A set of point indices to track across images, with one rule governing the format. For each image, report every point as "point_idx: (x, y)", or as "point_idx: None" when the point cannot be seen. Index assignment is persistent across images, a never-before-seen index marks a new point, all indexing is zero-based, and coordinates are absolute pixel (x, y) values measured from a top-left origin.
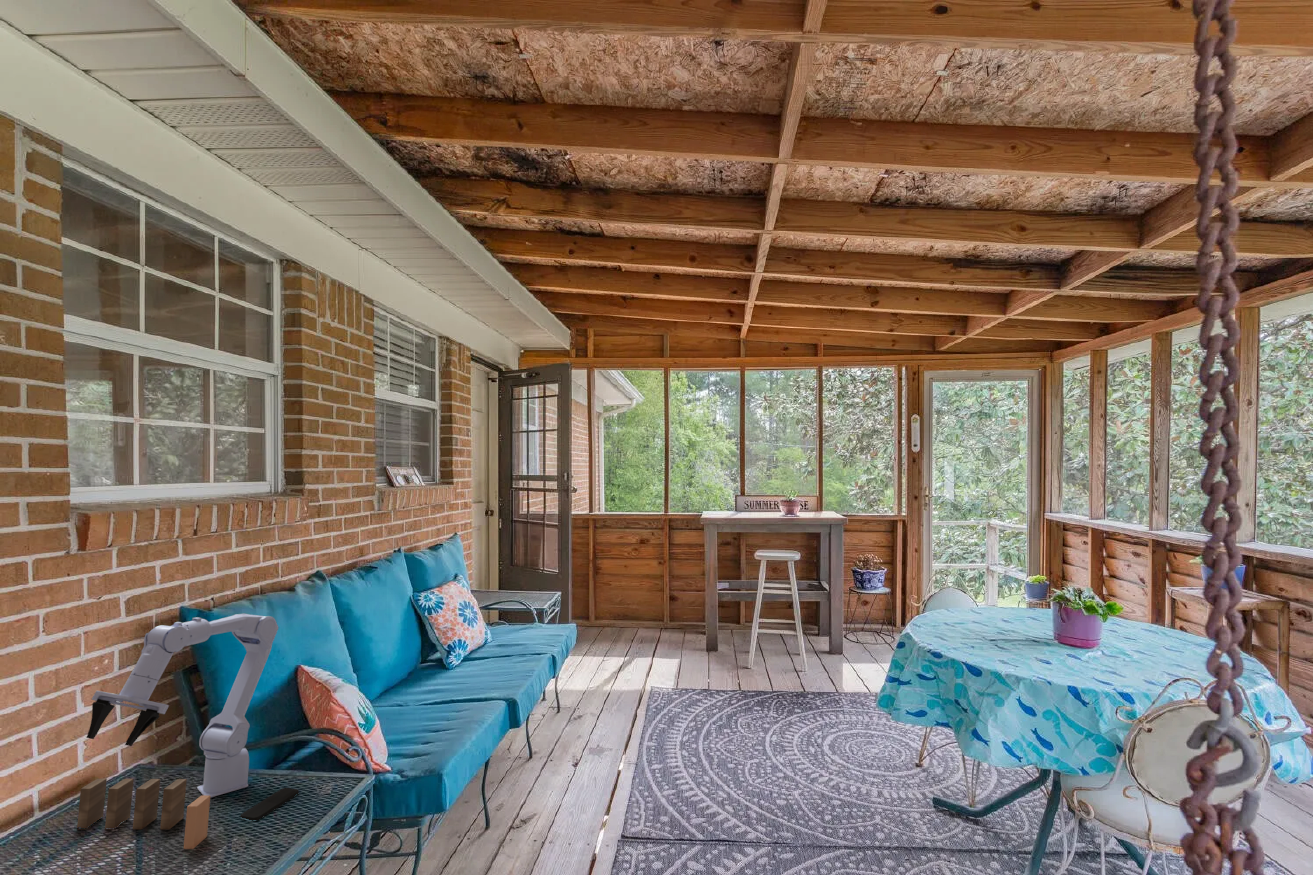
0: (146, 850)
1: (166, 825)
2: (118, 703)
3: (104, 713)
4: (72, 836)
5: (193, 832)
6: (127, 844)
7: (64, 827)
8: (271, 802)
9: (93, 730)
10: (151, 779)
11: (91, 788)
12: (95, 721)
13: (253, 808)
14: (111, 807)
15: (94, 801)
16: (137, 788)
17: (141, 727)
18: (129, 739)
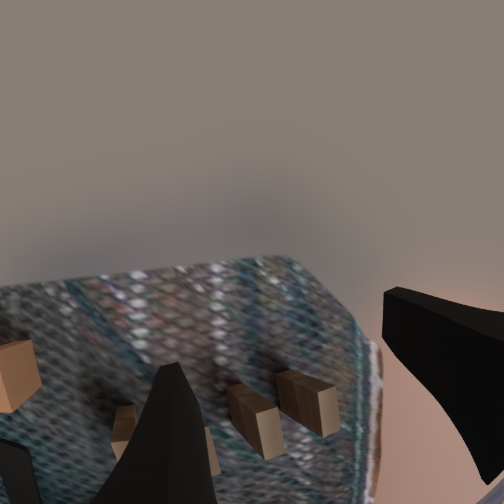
0: (91, 327)
1: (123, 408)
2: (502, 491)
3: (486, 399)
4: (276, 347)
5: (5, 344)
6: (147, 343)
7: (314, 367)
8: (18, 490)
9: (413, 310)
10: (217, 471)
11: (317, 396)
12: (461, 318)
13: (26, 473)
14: (249, 397)
15: (299, 399)
16: (207, 428)
17: (119, 468)
18: (161, 383)
